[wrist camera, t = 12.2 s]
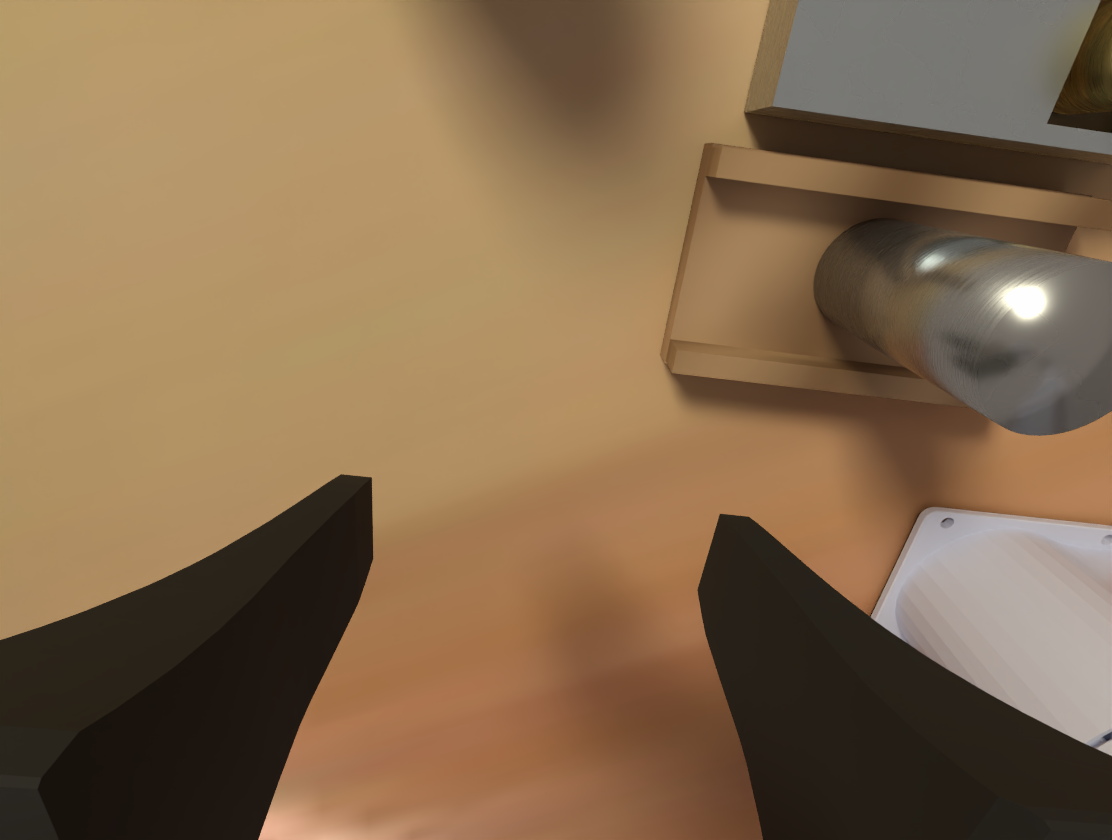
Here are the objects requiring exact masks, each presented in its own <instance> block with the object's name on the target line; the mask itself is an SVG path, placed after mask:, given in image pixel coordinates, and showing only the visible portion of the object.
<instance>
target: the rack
mask: <svg viewBox="0 0 1112 840" xmlns="http://www.w3.org/2000/svg"><path fill="white" fill-rule="evenodd" d="M1091 197H1092V196H1089V195H1082V194H1075V193H1068V192H1060V191H1053V190H1046V189H1039V188H1032V187H1024V186H1017V185H1010V184H1003V183H996V182H988V181H981V180H974V179H967V178H960V177H952V176H945V175H938V174H931V173H924V172H916V171H909V170H902V169H895V168H888V167H880V166H873V165H866V164H859V163H852V162H844V161H837V160H830V159H823V158H816V157H808V156H801V155H794V154H787V153H780V152H772V151H765V150H758V149H751V148H744V147H736V146H729V145H722V144H715V143H708V144H705V145H704V150H703V154H702V159H701V164H700V169H699V173H698V178H697V183H696V188H695V192H694V197H693V202H692V206H691V211H690V216H689V221H688V225H687V230H686V235H685V240H684V244H683V249H682V254H681V259H680V263H679V268H678V273H677V277H676V282H675V287H674V292H673V296H672V301H671V306H670V311H669V315H668V320H667V325H666V329H665V334H664V339H663V344H662V348H661V353H660V355H661V357H662V359H663V361H664V363H665V364H667V365H668V367H669V369H670V370H671V372H672V373H675V374H684V375H692V376H701V377H709V378H718V379H727V380H735V381H744V382H752V383H761V384H769V385H778V386H787V387H795V388H804V389H812V390H821V391H829V392H838V393H846V394H855V395H864V396H872V397H881V398H889V399H898V400H906V401H915V402H924V403H932V404H941V405H949V406H958V407H966V408H971V407H969V406H968V405H966V404H964V403H963V402H961V401H960V400H958V399H956V398H955V397H953V396H951V395H950V394H948V393H946V392H945V391H943V390H942V389H940V388H938V387H937V386H935V385H933V384H932V383H930V382H928V381H927V380H925V379H924V378H922V377H920V376H919V375H917V374H915V373H914V372H912V371H910V370H909V369H907V368H906V367H904V366H902V365H901V364H899V363H897V362H896V361H894V360H892V359H891V358H889V357H887V356H886V355H884V354H883V353H881V352H879V351H878V350H876V349H874V348H873V347H871V346H869V345H868V344H866V343H865V342H863V341H861V340H860V339H858V338H856V337H855V336H853V335H851V334H850V333H848V332H847V331H845V330H843V329H842V328H840V327H838V326H837V325H835V324H833V323H832V322H831V321H829V320H828V319H827V318H826V317H825V316H824V315H823V314H822V313H821V311H820V310H819V308H818V306H817V304H816V301H815V298H814V291H813V283H814V275H815V271H816V268H817V265H818V263H819V261H820V259H821V257H822V255H823V253H824V252H825V250H826V249H827V247H828V246H829V245H830V244H831V243H832V241H833V240H834V239H835V238H837V237H838V236H839V235H840V234H841V233H842V232H844V231H845V230H847V229H848V228H850V227H851V226H853V225H856V224H858V223H860V222H863V221H866V220H870V219H875V218H890V219H895V220H901V221H906V222H911V223H916V224H921V225H926V226H931V227H936V228H941V229H946V230H951V231H956V232H961V233H967V234H972V235H977V236H982V237H987V238H992V239H997V240H1002V241H1007V242H1012V243H1017V244H1022V245H1028V246H1033V247H1038V248H1043V249H1048V250H1053V251H1058V252H1063V253H1064V252H1065V250H1066V248H1067V246H1068V244H1069V242H1070V240H1071V238H1072V236H1073V234H1074V232H1075V230H1076V228H1077V226H1078V227H1085V228H1093V229H1100V230H1108V231H1111V230H1112V200H1105V199H1098V198H1091Z"/></svg>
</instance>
